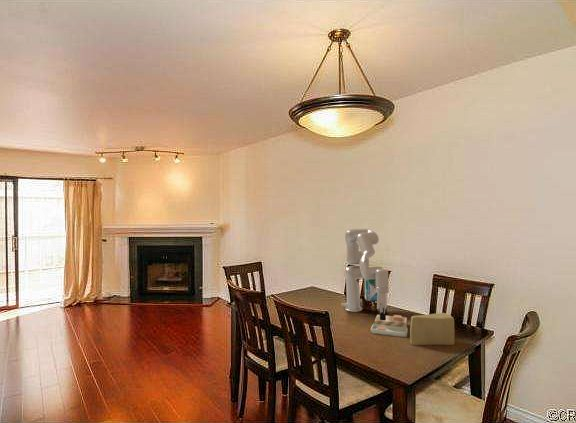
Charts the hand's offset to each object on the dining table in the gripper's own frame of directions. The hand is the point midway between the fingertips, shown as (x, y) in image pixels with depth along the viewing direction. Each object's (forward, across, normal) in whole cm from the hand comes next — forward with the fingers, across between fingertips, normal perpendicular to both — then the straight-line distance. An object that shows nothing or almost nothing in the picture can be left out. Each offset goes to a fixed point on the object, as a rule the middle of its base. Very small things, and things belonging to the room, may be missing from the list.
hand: (382, 319), depth 199 cm
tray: (+6, +5, +4) cm, 8 cm away
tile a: (+3, +6, 0) cm, 6 cm away
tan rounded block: (+6, +14, +26) cm, 30 cm away
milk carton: (+6, -66, -17) cm, 69 cm away
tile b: (+1, -6, +8) cm, 10 cm away
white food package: (+6, -6, +4) cm, 9 cm away
